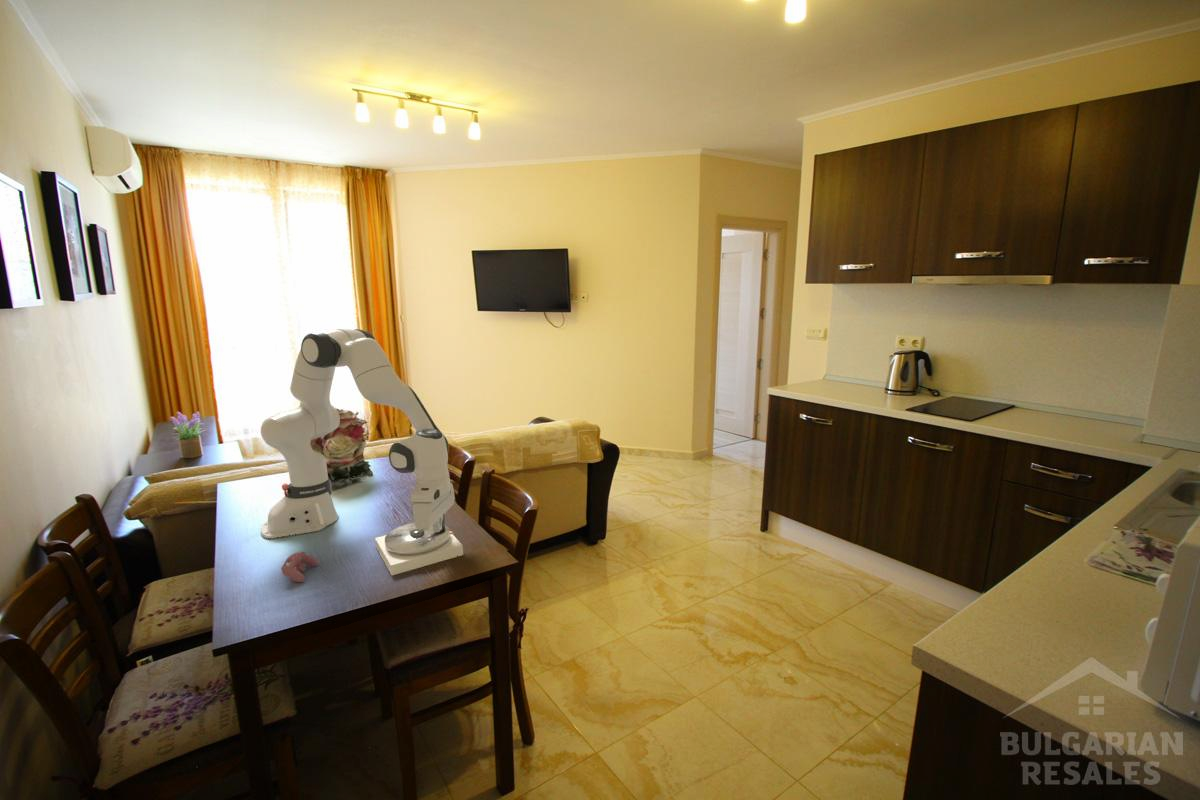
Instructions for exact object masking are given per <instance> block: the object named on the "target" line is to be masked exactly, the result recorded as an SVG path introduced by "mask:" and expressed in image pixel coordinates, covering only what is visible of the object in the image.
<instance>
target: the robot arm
mask: <svg viewBox="0 0 1200 800" xmlns="http://www.w3.org/2000/svg"><path fill="white" fill-rule="evenodd" d="M342 367H348V368H349V370H350V373H351V374H352V378H353V380H354V383H355V385H356V386H357V387H356V388H357V389H358V392H359V393H360V395H362V397H363V398H364V399H366V400H367V401H369V402H371V403H373V404H377V405H383V406H389V407H392V408H395V409H398V410H400V411H401V412H403V413H404V414H405V416H406V417H407V418H408V420H409V422H410V423H411V425H412V426H413V428H414V429H415V431H416V432H414V434H412V436H409V437H407V438H403V439H401V440H397V441H396V442H393V444H391V446H390V448H389V450H388V459H389V464H390V466H391V467H392V468H393V469H394V470H395V471H396V472H398V473H401V474H410V473H415V474H416V481H417V482H416V483H415V487H414V489H413V490H412V492H411V493H410V502H411V503H413V504H412V513H413V514H412V515H413V521H414V522H413V523H415V527H416V528H417V529H418V530H428V529H430V527H431V526H433V528H434V532H440V531H441V530H442V521H443V514H444V515H445V514H446V513H447V511H448V510H449V509H451V508H452V507H453V505H454V504H455V501H456V497H455V490H454V486H453V485H454V484H453V483H452V482H450V471H449V469H448V461H449V456H448V455H449V450H450V446H449V444H450V443H449V441H448V438H447V437H446V436H445V435H444V434H443V432H442V431H441V430H440V428H438V426H437V425H436V423H435V422H434V420H433V419H432V417H431V416H430V414H429V413H428V410H427V408H425V406H424V404H423V402H422V401H421V400H420V398H419V395H417V394H416V392H415V391H414V390H413V389H412V387H411V386H410V385H407V384H406V383H405V382H404V381H402V380H401V378H400V377H399V376H398V374H397V373H396V371H395V370H394V368H393V366H392V363H391V362H390V360H389V357H388V356H387V353H385V350H384V349H383V348H382V346H381V344H379V342H378V341H377V340H376V339H375V337H374V335H373V334H372V332H369V331H368V330H363V329H358V328H357V329H351V328H349V329H348V328H343V329H342V328H341V329H340V328H338V329H333V330H325V331H322V330H318V331H314V332H311V333H310V332H309V333H308V334H306V335H305V336H304V338H302V341H301V345H300V350H299V352H298V354H297V358H296V361H295V364H294V368H293V374H292V378H291V381H290V382H291V383H290V388H289V389H290V393H291V394H292V396H293V397H294V398H295V399H296V400H298V401H299V402H300V404H299V406H298V407H297V408H295V409H290V410H287V411H283V412H278V413H276V414H274V415H272V416H270V417H268V418H266V419H265V420H264V421H263V422H262V424H261V427H260V435H261V439H262V440H263V441H264V443H265V444H266V445H268V446H269V447H270V448H273V449H275V450H277V451H278V452H279V453H280V454H281V456H282V457H283V458H284V460H285V463H286V466H287V469H288V475H289V476H288V477H289V481H290V483H286V482H284V483H283V484H282V485H281V490H283V493H284V497H282V499H280V500H279V501H278V502H277V503H276V504H274V505H273V506H272V507H271V508H270V510H269V512H268V515H267V521H266V522H264V523H263V524H262V525H261V528H260V533H261V537H263V538H265V539H268V538H269V539H270V538H271V539H277V537H278V538H283V536H284V537H290V536H295V534H296V535H302V534H307V533H312V532H313V533H314V532H320V531H322V530H323V529H324V528H325V527H327V526H329V525H331V524H333V523H334V522H336V521H337V520H338V518H339V514H338V512H337V509H336V508H335V505H334V502H333V501H334V500H333V498H332V492H333V491H332V490H331V482H330V481H331V480H330V479H329V477H328V473H327V465H326V458H325V456H324V455H323V454H321V453H320V452H317V451H313V449H312V448H311V445H310V440H312V439H315V438H319V437H322V436H325V435H327V434H329V433H330V432H332V431H334V430H335V429H337V427H338V426H339V423H340V416H339V413H338V411H337V410H336V409H337V408H336V407H334V406H333V405H332V403H331V400H330V398H331V397H330V396H331V389H332V385H333V379H334V376H335V370H336V368H342ZM335 408H336V409H335ZM289 535H290V536H289Z"/></svg>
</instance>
